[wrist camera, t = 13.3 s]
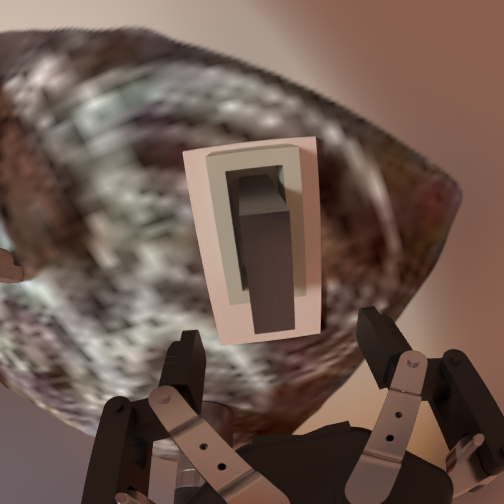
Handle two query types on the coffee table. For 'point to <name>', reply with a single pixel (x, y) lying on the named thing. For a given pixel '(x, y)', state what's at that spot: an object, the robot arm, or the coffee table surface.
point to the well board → (229, 231)
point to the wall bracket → (9, 268)
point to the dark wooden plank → (267, 254)
